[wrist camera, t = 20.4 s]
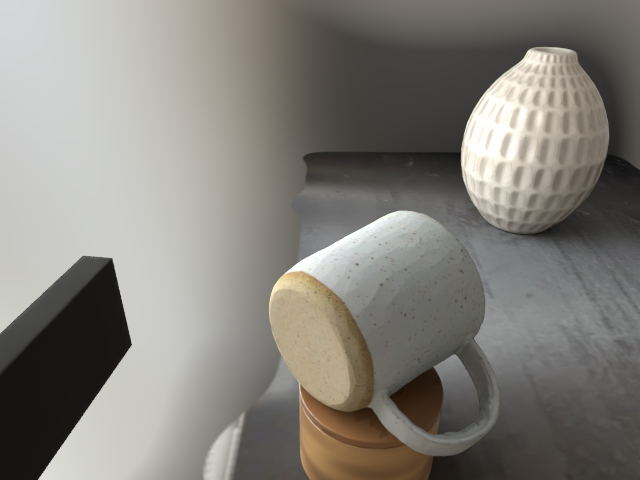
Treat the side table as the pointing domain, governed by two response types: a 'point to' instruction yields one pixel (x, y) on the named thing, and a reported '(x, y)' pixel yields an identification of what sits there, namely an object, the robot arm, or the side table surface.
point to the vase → (535, 143)
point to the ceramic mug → (386, 323)
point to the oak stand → (368, 436)
